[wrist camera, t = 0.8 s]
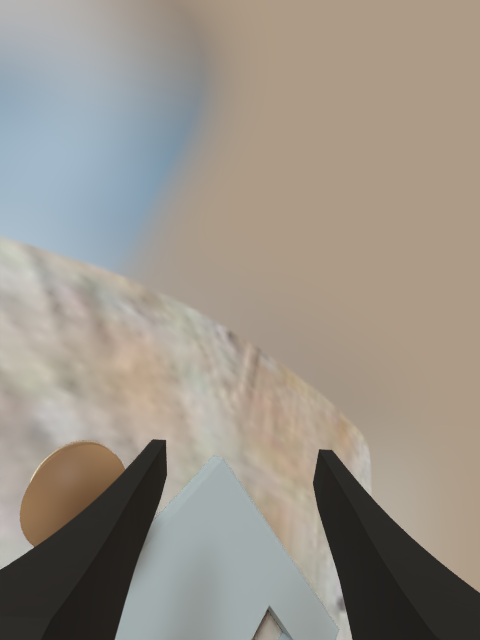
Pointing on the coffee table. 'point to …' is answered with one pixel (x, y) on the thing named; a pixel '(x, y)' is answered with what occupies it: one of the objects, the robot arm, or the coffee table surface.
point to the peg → (66, 487)
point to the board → (217, 571)
